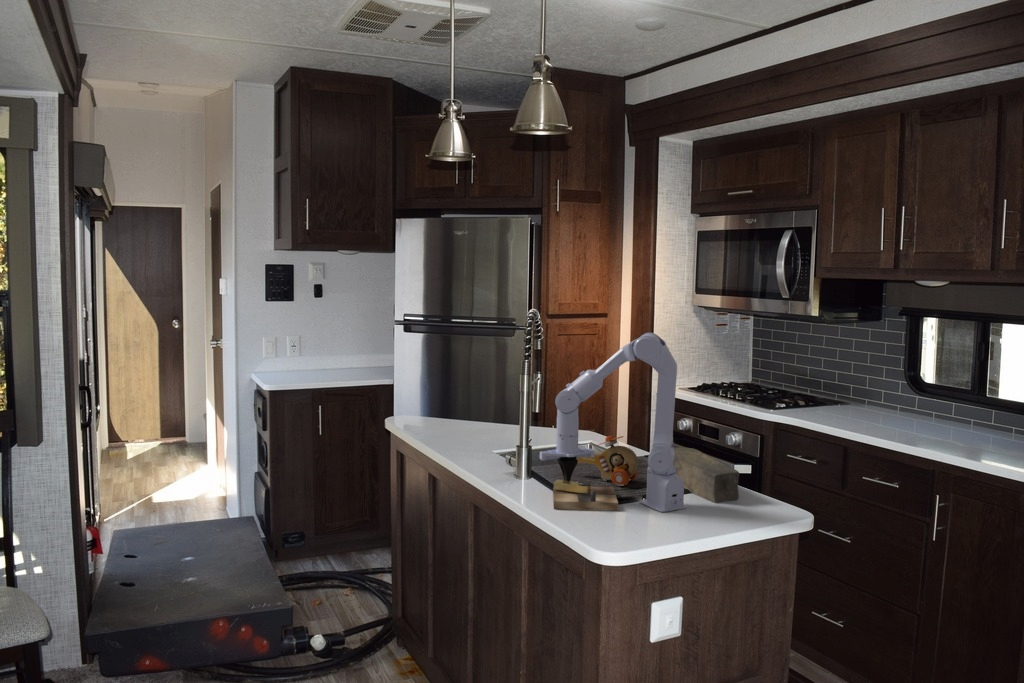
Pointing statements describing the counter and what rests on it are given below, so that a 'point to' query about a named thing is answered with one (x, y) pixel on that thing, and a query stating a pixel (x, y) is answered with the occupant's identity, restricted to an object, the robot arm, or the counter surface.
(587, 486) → the swing bar
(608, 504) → the lock board
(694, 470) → the weathered wooden bar
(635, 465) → the toy helicopter
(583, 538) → the counter surface
